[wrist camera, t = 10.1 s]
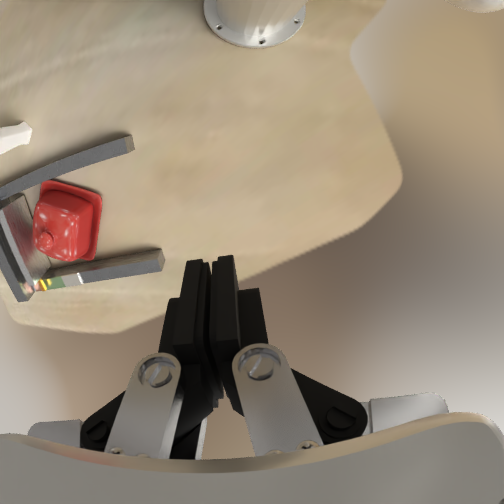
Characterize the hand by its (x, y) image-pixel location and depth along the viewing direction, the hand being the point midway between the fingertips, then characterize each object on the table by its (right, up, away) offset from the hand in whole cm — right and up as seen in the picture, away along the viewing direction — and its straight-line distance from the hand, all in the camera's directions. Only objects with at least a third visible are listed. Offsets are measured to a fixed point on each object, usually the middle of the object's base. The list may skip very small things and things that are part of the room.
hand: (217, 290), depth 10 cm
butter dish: (-27, +7, +27) cm, 38 cm away
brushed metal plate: (-34, +4, +26) cm, 44 cm away
